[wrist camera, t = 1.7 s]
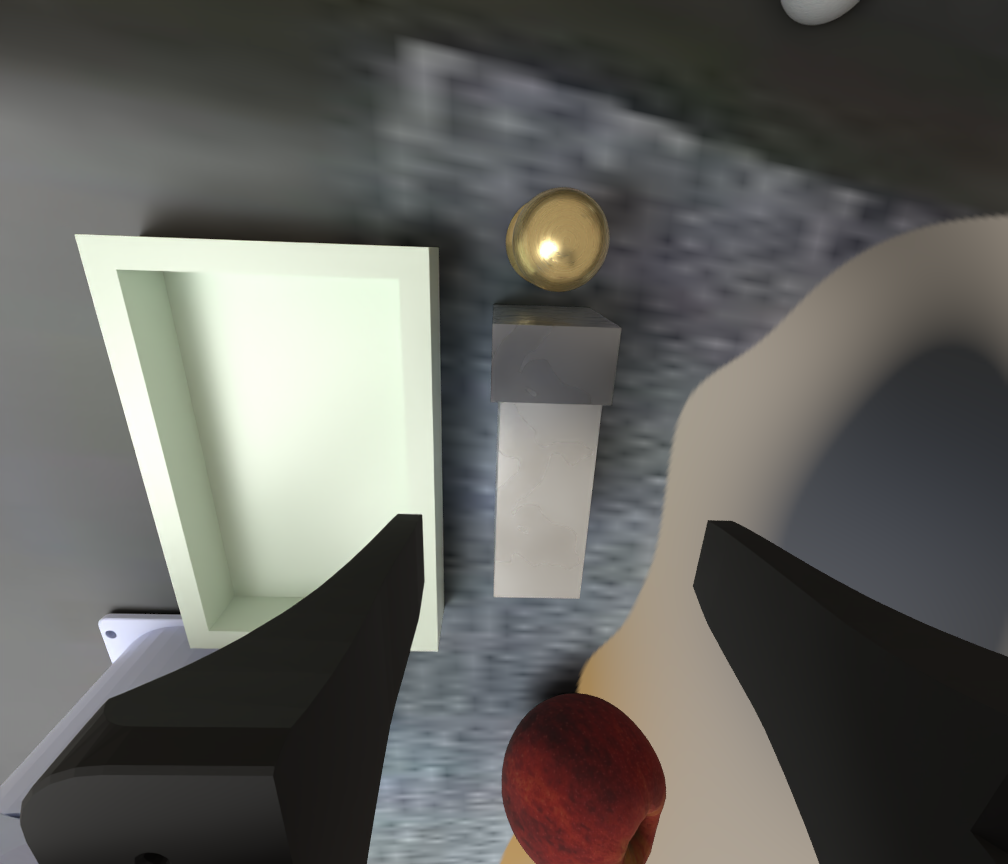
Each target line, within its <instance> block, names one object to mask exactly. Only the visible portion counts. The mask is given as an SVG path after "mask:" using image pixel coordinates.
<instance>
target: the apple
mask: <svg viewBox="0 0 1008 864" xmlns="http://www.w3.org/2000/svg"><path fill="white" fill-rule="evenodd" d="M502 798H503V804H504V808H505V812H506V815H507V818H508V821H509V823H510V826H511V828H512V830H513V832H514V834H515V836H516V838H517V839H518V841H519V843H520V845H521V846H522V847H523V849H524V850H525V852H526V853H527V854H528V855H529V857H530V858H531V859H532V860H533V861H534V862H535V863H536V864H645V863H646V861H647V859H648V857H649V855H650V853H651V849H652V845H653V841H654V837H655V833H656V829H657V825H658V822H659V818H660V814H661V812H662V809H663V806H664V802H665V799H666V784H665V777H664V773H663V770H662V767H661V764H660V762H659V759H658V757H657V755H656V753H655V751H654V749H653V748H652V746H651V744H650V743H649V741H648V740H647V738H646V737H645V736H644V734H643V733H642V732H641V730H640V729H639V728H638V727H637V726H636V725H635V723H634V722H633V721H632V720H631V719H630V718H629V717H628V716H626V715H625V714H624V713H623V712H622V711H621V710H619V709H618V708H617V707H615V706H614V705H612V704H610V703H609V702H606V701H605V700H603V699H600V698H598V697H594V696H591V695H587V694H579V693H570V694H562V695H558V696H555V697H552V698H550V699H548V700H545V701H544V702H542V703H540V704H539V705H537V706H536V707H534V708H533V709H532V710H531V711H530V712H529V713H528V714H527V715H526V716H525V717H524V718H523V719H522V720H521V722H520V723H519V725H518V727H517V728H516V730H515V732H514V734H513V735H512V737H511V740H510V742H509V744H508V747H507V750H506V753H505V757H504V762H503V768H502Z"/></svg>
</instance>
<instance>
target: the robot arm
mask: <svg viewBox="0 0 1008 864" xmlns="http://www.w3.org/2000/svg"><path fill="white" fill-rule="evenodd" d="M424 582H425V577H424V548H423V519H422V514H397V515H396V516H395V517H394V518H393V519H392V520H391V521H390V522H389V523H388V524H387V525H386V526H385V527H384V528H383V529H382V530H381V531H380V532H379V533H378V534H377V535H376V536H375V537H374V538H373V539H372V540H371V541H370V542H369V543H368V544H367V545H366V546H365V547H364V548H363V549H362V550H361V551H360V552H359V553H358V554H356V555H355V556H354V557H353V558H352V559H351V560H350V561H349V562H348V563H347V564H346V565H345V566H343V567H342V568H341V569H340V570H339V571H338V572H336V573H335V574H334V575H333V576H332V577H331V578H329V579H328V580H327V581H326V582H325V583H323V584H322V585H321V586H320V587H318V588H317V589H316V590H314V591H313V592H312V593H310V594H309V595H308V596H306V597H305V598H303V599H302V600H300V601H299V602H298V603H296V604H295V605H293V606H292V607H290V608H289V609H287V610H286V611H284V612H283V613H281V614H280V615H278V616H276V617H275V618H273V619H271V620H270V621H268V622H266V623H265V624H263V625H261V626H260V627H258V628H256V629H255V630H253V631H252V632H250V633H248V634H247V635H245V636H243V637H241V638H240V639H238V640H236V641H234V642H232V643H230V644H228V645H226V646H225V647H223V648H221V649H203V648H190V645H189V642H188V638H187V635H186V631H185V628H184V624H183V620H182V617H181V615H175V614H107V615H105V616H104V617H103V618H102V619H100V621H99V622H98V624H99V628H100V631H101V634H102V636H103V639H104V642H105V645H106V647H107V650H108V653H109V656H110V658H111V661H112V665H111V666H110V667H109V668H108V670H107V671H106V672H105V673H104V674H103V675H102V676H101V677H100V678H99V679H98V680H97V681H96V683H95V684H94V685H93V686H92V687H91V688H90V689H89V690H88V691H87V692H86V693H85V695H84V696H83V697H82V698H81V699H80V700H79V701H78V702H77V703H76V704H75V705H74V707H73V708H72V709H71V710H70V711H69V712H68V713H67V714H66V715H65V716H64V717H63V719H62V720H61V721H60V722H59V723H58V724H57V725H56V726H55V727H54V728H53V729H52V730H51V732H50V733H49V734H48V735H47V736H46V737H45V738H44V739H43V740H42V741H41V742H40V744H39V745H38V746H37V747H36V748H35V749H34V750H33V751H32V752H31V753H30V754H29V756H28V757H27V758H26V759H25V760H24V761H23V762H22V763H21V764H20V765H19V766H18V768H17V769H16V770H15V771H14V772H13V773H12V774H11V775H10V776H9V777H8V778H7V780H6V781H5V782H4V783H3V784H2V785H1V786H0V864H367V858H368V852H369V846H370V840H371V833H372V827H373V821H374V815H375V809H376V803H377V797H378V792H379V786H380V780H381V774H382V768H383V763H384V757H385V752H386V746H387V741H388V735H389V730H390V724H391V720H392V716H393V712H394V707H395V703H396V700H397V696H398V693H399V689H400V686H401V682H402V678H403V675H404V671H405V668H406V664H407V660H408V657H409V653H410V650H411V646H412V642H413V639H414V635H415V632H416V628H417V624H418V620H419V615H420V609H421V603H422V596H423V589H424ZM693 587H694V590H695V593H696V595H697V598H698V601H699V604H700V606H701V609H702V611H703V614H704V616H705V619H706V621H707V624H708V625H709V627H710V629H711V631H712V633H713V635H714V637H715V639H716V640H717V642H718V644H719V646H720V648H721V650H722V651H723V653H724V655H725V657H726V659H727V660H728V662H729V664H730V666H731V668H732V669H733V671H734V673H735V675H736V677H737V678H738V680H739V682H740V684H741V685H742V687H743V689H744V691H745V693H746V695H747V696H748V698H749V700H750V701H751V703H752V705H753V707H754V709H755V711H756V713H757V715H758V717H759V719H760V721H761V723H762V725H763V727H764V729H765V731H766V733H767V735H768V738H769V740H770V742H771V744H772V747H773V749H774V752H775V754H776V756H777V759H778V761H779V763H780V765H781V768H782V770H783V772H784V775H785V777H786V779H787V782H788V784H789V787H790V789H791V792H792V794H793V797H794V799H795V802H796V804H797V807H798V809H799V811H800V814H801V816H802V819H803V821H804V824H805V826H806V829H807V832H808V834H809V837H810V840H811V842H812V845H813V847H814V850H815V853H816V855H817V858H818V861H819V864H1008V657H1007V656H1004V655H1002V654H999V653H996V652H994V651H991V650H988V649H986V648H983V647H980V646H978V645H975V644H973V643H970V642H968V641H965V640H963V639H960V638H958V637H956V636H953V635H951V634H948V633H946V632H943V631H941V630H938V629H936V628H934V627H931V626H929V625H927V624H924V623H922V622H920V621H918V620H915V619H913V618H911V617H909V616H907V615H905V614H902V613H900V612H898V611H896V610H894V609H892V608H890V607H888V606H885V605H883V604H881V603H879V602H877V601H875V600H873V599H871V598H869V597H867V596H865V595H863V594H861V593H859V592H858V591H856V590H854V589H852V588H850V587H848V586H846V585H845V584H842V583H841V582H839V581H837V580H835V579H833V578H831V577H830V576H828V575H826V574H824V573H822V572H821V571H819V570H817V569H815V568H814V567H812V566H810V565H809V564H807V563H805V562H804V561H802V560H800V559H798V558H797V557H795V556H793V555H792V554H790V553H788V552H787V551H785V550H783V549H782V548H780V547H778V546H776V545H775V544H773V543H771V542H770V541H768V540H766V539H764V538H763V537H761V536H760V535H758V534H756V533H754V532H752V531H751V530H749V529H747V528H745V527H743V526H741V525H739V524H737V523H735V522H733V521H712V520H710V521H709V520H708V523H707V527H706V531H705V536H704V540H703V544H702V549H701V553H700V558H699V562H698V566H697V571H696V576H695V580H694V584H693Z"/></svg>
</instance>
